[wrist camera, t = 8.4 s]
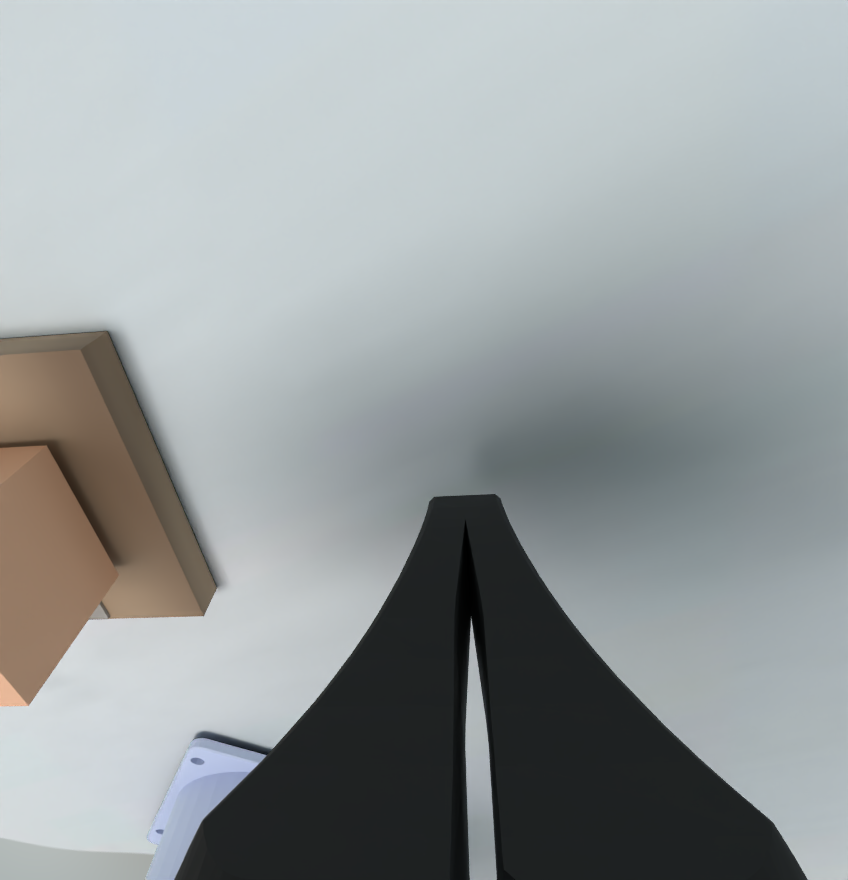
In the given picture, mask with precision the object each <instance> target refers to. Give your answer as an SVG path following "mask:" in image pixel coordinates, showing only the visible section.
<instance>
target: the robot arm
mask: <svg viewBox="0 0 848 880" xmlns="http://www.w3.org/2000/svg"><path fill="white" fill-rule="evenodd" d="M471 618H472V625H473V632H474V639H475V646H476V653H477V660H478V667H479V674H480V681H481V688H482V694H483V701H484V708H485V715H486V723H487V732H488V741H489V754H490V771H491V787H492V804H493V820H494V837H495V854H496V870H497V880H807V878H806V876H805V874H804V873H803V871H802V869H801V867H800V866H799V864H798V862H797V860H796V859H795V857H794V855H793V854H792V852H791V851H790V849H789V847H788V846H787V844H786V842H785V841H784V839H783V838H782V836H781V834H780V833H779V831H778V830H777V828H776V827H775V825H774V823H773V822H772V821H771V820H769V819H768V818H767V817H766V816H765V815H764V814H762V813H761V812H760V811H759V810H758V809H757V808H755V807H754V806H753V805H752V804H751V803H750V802H748V801H747V800H746V799H745V798H744V797H742V796H741V795H740V794H739V793H738V792H737V791H735V790H734V789H733V788H732V787H731V786H730V785H729V784H727V783H726V782H725V781H724V780H723V779H722V778H721V777H720V776H718V775H717V774H716V773H715V772H714V771H713V770H712V769H711V768H709V767H708V766H707V765H706V764H705V763H704V762H703V761H702V760H701V759H699V758H698V757H697V756H696V755H695V754H694V753H693V752H692V751H691V750H690V749H689V748H688V747H687V746H686V745H685V744H684V743H683V742H681V741H680V740H679V739H678V738H677V737H676V736H675V735H674V734H673V733H672V732H671V731H670V730H669V729H668V728H667V727H666V726H665V725H664V724H663V723H662V722H661V721H660V720H659V719H658V718H657V717H656V716H655V715H654V714H653V713H652V712H651V711H650V710H649V709H648V708H647V707H646V706H645V705H644V704H643V703H642V702H641V701H640V700H639V699H638V698H637V697H636V696H635V694H634V693H633V692H632V691H631V690H630V689H629V688H628V687H627V686H626V685H625V684H624V683H623V682H622V681H621V680H620V679H619V678H618V677H617V676H616V675H615V673H614V672H613V671H612V670H611V669H610V668H609V667H608V665H607V664H606V663H605V662H604V661H603V660H602V658H601V657H600V656H599V655H598V654H597V653H596V652H595V650H594V649H593V648H592V647H591V645H590V644H589V643H588V642H587V641H586V639H585V638H584V637H583V636H582V634H581V633H580V632H579V631H578V629H577V628H576V627H575V626H574V624H573V623H572V622H571V620H570V619H569V618H568V616H567V615H566V614H565V612H564V611H563V610H562V608H561V607H560V605H559V604H558V602H557V601H556V600H555V598H554V597H553V595H552V594H551V592H550V591H549V590H548V588H547V587H546V585H545V584H544V582H543V580H542V579H541V577H540V576H539V574H538V573H537V571H536V569H535V568H534V566H533V564H532V563H531V561H530V559H529V558H528V556H527V554H526V553H525V551H524V549H523V547H522V546H521V544H520V542H519V540H518V538H517V536H516V534H515V532H514V530H513V528H512V526H511V524H510V522H509V520H508V518H507V515H506V513H505V510H504V508H503V505H502V502H501V499H500V498H499V497H498V496H497V495H495V494H488V495H465V496H443V497H434V498H433V499H432V500H431V501H430V502H429V506H428V510H427V513H426V516H425V519H424V522H423V525H422V528H421V530H420V533H419V535H418V537H417V540H416V542H415V545H414V547H413V549H412V551H411V553H410V555H409V557H408V559H407V561H406V564H405V566H404V568H403V570H402V572H401V574H400V576H399V578H398V580H397V581H396V583H395V585H394V587H393V588H392V590H391V592H390V594H389V596H388V597H387V599H386V601H385V603H384V604H383V606H382V608H381V610H380V611H379V613H378V615H377V616H376V618H375V619H374V621H373V623H372V624H371V626H370V627H369V629H368V630H367V632H366V633H365V635H364V636H363V638H362V639H361V641H360V642H359V644H358V645H357V647H356V648H355V650H354V651H353V652H352V654H351V655H350V657H349V658H348V659H347V661H346V662H345V663H344V665H343V666H342V667H341V669H340V670H339V671H338V673H337V674H336V675H335V676H334V678H333V679H332V680H331V682H330V683H329V684H328V686H327V687H326V688H325V689H324V691H323V692H322V693H321V694H320V696H319V697H318V698H317V699H316V701H315V702H314V703H313V704H312V705H311V706H310V708H309V709H308V710H307V711H306V712H305V713H304V714H303V716H302V717H301V718H300V719H299V720H298V721H297V722H296V723H295V725H294V726H293V727H292V728H291V729H290V730H289V731H288V733H287V734H286V735H285V736H284V737H283V738H282V739H281V740H280V742H279V743H278V744H277V745H276V746H275V747H274V748H273V749H272V750H271V752H270V753H269V754H268V755H264V754H261V753H257V752H253V751H250V750H246V749H242V748H239V747H235V746H232V745H228V744H224V743H221V742H217V741H214V740H210V739H206V738H197V739H194V740H193V741H192V742H191V743H190V745H189V747H188V750H187V752H186V754H185V756H184V758H183V760H182V762H181V764H180V766H179V769H178V771H177V773H176V775H175V777H174V779H173V781H172V783H171V786H170V788H169V790H168V792H167V794H166V796H165V798H164V800H163V802H162V805H161V807H160V809H159V811H158V813H157V815H156V817H155V819H154V821H153V824H152V826H151V828H150V830H149V833H148V835H147V840H148V841H149V842H151V843H154V844H157V845H158V847H157V850H156V852H155V855H154V858H153V860H152V863H151V865H150V868H149V870H148V873H147V876H146V878H145V880H470V878H469V849H468V819H467V788H466V757H465V723H466V703H467V684H468V664H469V645H470V625H471Z"/></svg>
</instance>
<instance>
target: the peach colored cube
mask: <svg viewBox="0 0 848 880" xmlns="http://www.w3.org/2000/svg"><path fill="white" fill-rule="evenodd" d="M118 576H119V574H118V573H117V571H116V569H115V567H114V565H113V564H112V562H111V560H110V558H109V556H108V555H107V553H106V551H105V549H104V547H103V546H102V544H101V542H100V540H99V538H98V537H97V535H96V533H95V531H94V529H93V528H92V526H91V524H90V522H89V520H88V519H87V517H86V515H85V513H84V511H83V510H82V508H81V506H80V504H79V502H78V501H77V499H76V497H75V495H74V494H73V492H72V490H71V488H70V486H69V485H68V483H67V481H66V479H65V477H64V476H63V474H62V472H61V470H60V468H59V467H58V465H57V463H56V461H55V459H54V458H53V456H52V454H51V452H50V450H49V449H48V447H47V445H45V446H27V447H9V448H0V706H29V704H30V703H31V702H32V700H33V699H34V697H35V696H36V694H37V693H38V692H39V690H40V689H41V687H42V686H43V684H44V683H45V681H46V680H47V679H48V677H49V676H50V674H51V673H52V671H53V670H54V668H55V667H56V666H57V664H58V663H59V661H60V660H61V658H62V657H63V655H64V654H65V653H66V651H67V650H68V648H69V647H70V645H71V644H72V643H73V641H74V640H75V638H76V637H77V635H78V634H79V632H80V631H81V630H82V628H83V627H84V625H85V624H86V622H87V621H88V619H89V618H90V617H91V615H92V614H93V612H94V611H95V609H96V608H97V606H98V605H99V604H100V602H101V601H102V599H103V598H104V596H105V595H106V594H107V592H108V591H109V589H110V588H111V586H112V585H113V583H114V582H115V581H116V579H117V578H118Z"/></svg>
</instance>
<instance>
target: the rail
mask: <svg viewBox="0 0 848 880" xmlns="http://www.w3.org/2000/svg"><path fill="white" fill-rule="evenodd" d="M45 445H47V447H48V449H49V450H50V452H51V454H52V456H53V458H54V459H55V461H56V463H57V465H58V467H59V468H60V470H61V472H62V474H63V476H64V477H65V479H66V481H67V483H68V485H69V486H70V488H71V490H72V492H73V494H74V495H75V497H76V499H77V501H78V502H79V504H80V506H81V508H82V510H83V511H84V513H85V515H86V517H87V519H88V520H89V522H90V524H91V526H92V528H93V529H94V531H95V533H96V535H97V537H98V538H99V540H100V542H101V544H102V546H103V547H104V549H105V551H106V553H107V555H108V556H109V558H110V560H111V562H112V564H113V565H114V567H115V569H116V571H117V573H118V574H119V576H118V578H117V579H116V581H115V582H114V583H113V585H112V586H111V588H110V589H109V591H108V592H107V594H106V595H105V596H104V598H103V599H102V601H101V602H100V604H99V605H98V606H97V608H96V609H95V611H94V612H93V614H92V615H91V617H90V618H89V619H88V620H93V619H113V618H149V617H186V616H204V614H205V612H206V610H207V608H208V606H209V604H210V602H211V600H212V597H213V595H214V593H215V591H216V589H217V588H216V585H215V583H214V581H213V578H212V576H211V574H210V571H209V569H208V567H207V564H206V562H205V560H204V557H203V555H202V553H201V550H200V548H199V545H198V543H197V541H196V538H195V536H194V534H193V531H192V529H191V527H190V524H189V522H188V520H187V517H186V515H185V513H184V510H183V508H182V506H181V503H180V501H179V498H178V496H177V494H176V491H175V489H174V487H173V484H172V482H171V480H170V477H169V475H168V473H167V470H166V468H165V466H164V463H163V461H162V459H161V456H160V454H159V451H158V449H157V447H156V444H155V442H154V440H153V437H152V435H151V433H150V430H149V428H148V426H147V423H146V421H145V419H144V416H143V414H142V412H141V409H140V407H139V405H138V402H137V400H136V397H135V395H134V393H133V390H132V388H131V386H130V383H129V381H128V379H127V376H126V374H125V372H124V369H123V367H122V365H121V362H120V360H119V358H118V355H117V353H116V350H115V348H114V346H113V343H112V341H111V339H110V336H109V334H108V332H107V331H103V332H90V333H76V334H62V335H48V336H35V337H21V338H7V339H0V448H9V447H27V446H45Z"/></svg>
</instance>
